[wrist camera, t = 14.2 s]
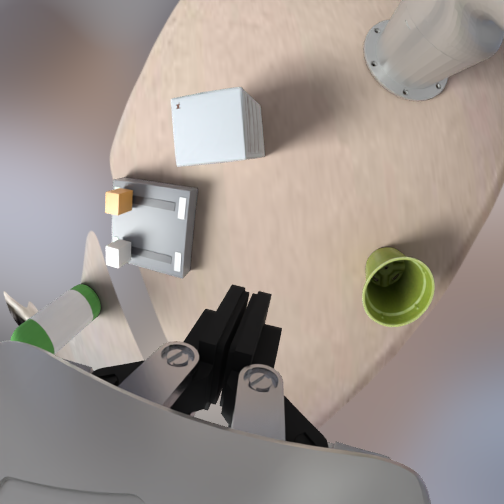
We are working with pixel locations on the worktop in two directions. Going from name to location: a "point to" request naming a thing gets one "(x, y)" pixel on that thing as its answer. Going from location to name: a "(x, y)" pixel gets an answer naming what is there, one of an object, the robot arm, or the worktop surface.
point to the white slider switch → (118, 253)
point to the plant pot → (396, 288)
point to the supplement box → (217, 127)
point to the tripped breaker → (118, 201)
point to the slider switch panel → (158, 225)
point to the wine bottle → (60, 320)
